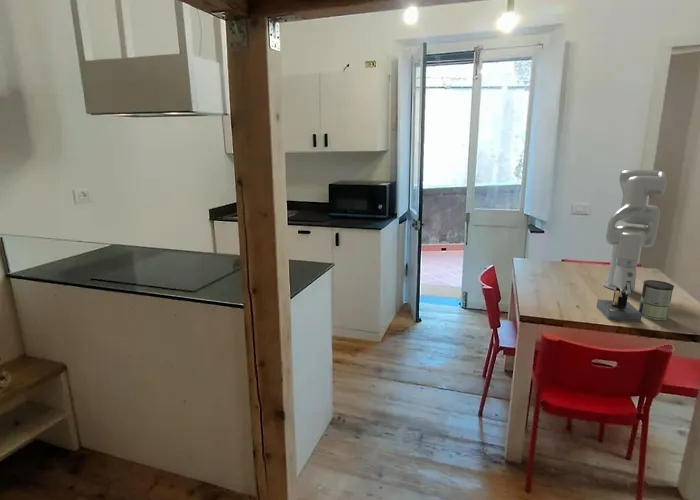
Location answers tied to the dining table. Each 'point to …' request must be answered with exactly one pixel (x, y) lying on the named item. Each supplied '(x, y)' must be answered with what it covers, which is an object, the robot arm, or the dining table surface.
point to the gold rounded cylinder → (617, 299)
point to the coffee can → (656, 299)
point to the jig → (619, 311)
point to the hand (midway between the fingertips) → (619, 303)
